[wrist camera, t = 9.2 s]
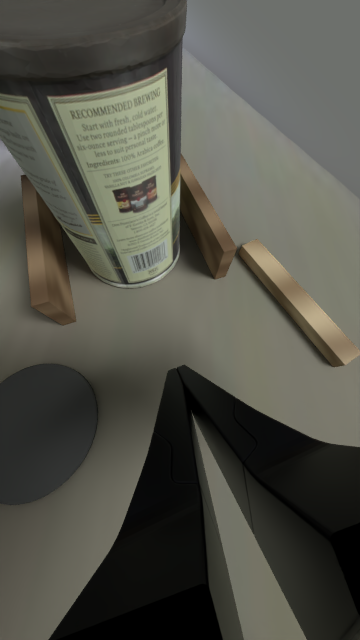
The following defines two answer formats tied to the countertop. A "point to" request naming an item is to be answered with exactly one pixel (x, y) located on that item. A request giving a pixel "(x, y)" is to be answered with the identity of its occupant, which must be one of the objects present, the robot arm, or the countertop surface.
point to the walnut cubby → (49, 256)
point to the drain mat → (43, 430)
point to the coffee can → (99, 124)
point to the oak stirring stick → (299, 305)
